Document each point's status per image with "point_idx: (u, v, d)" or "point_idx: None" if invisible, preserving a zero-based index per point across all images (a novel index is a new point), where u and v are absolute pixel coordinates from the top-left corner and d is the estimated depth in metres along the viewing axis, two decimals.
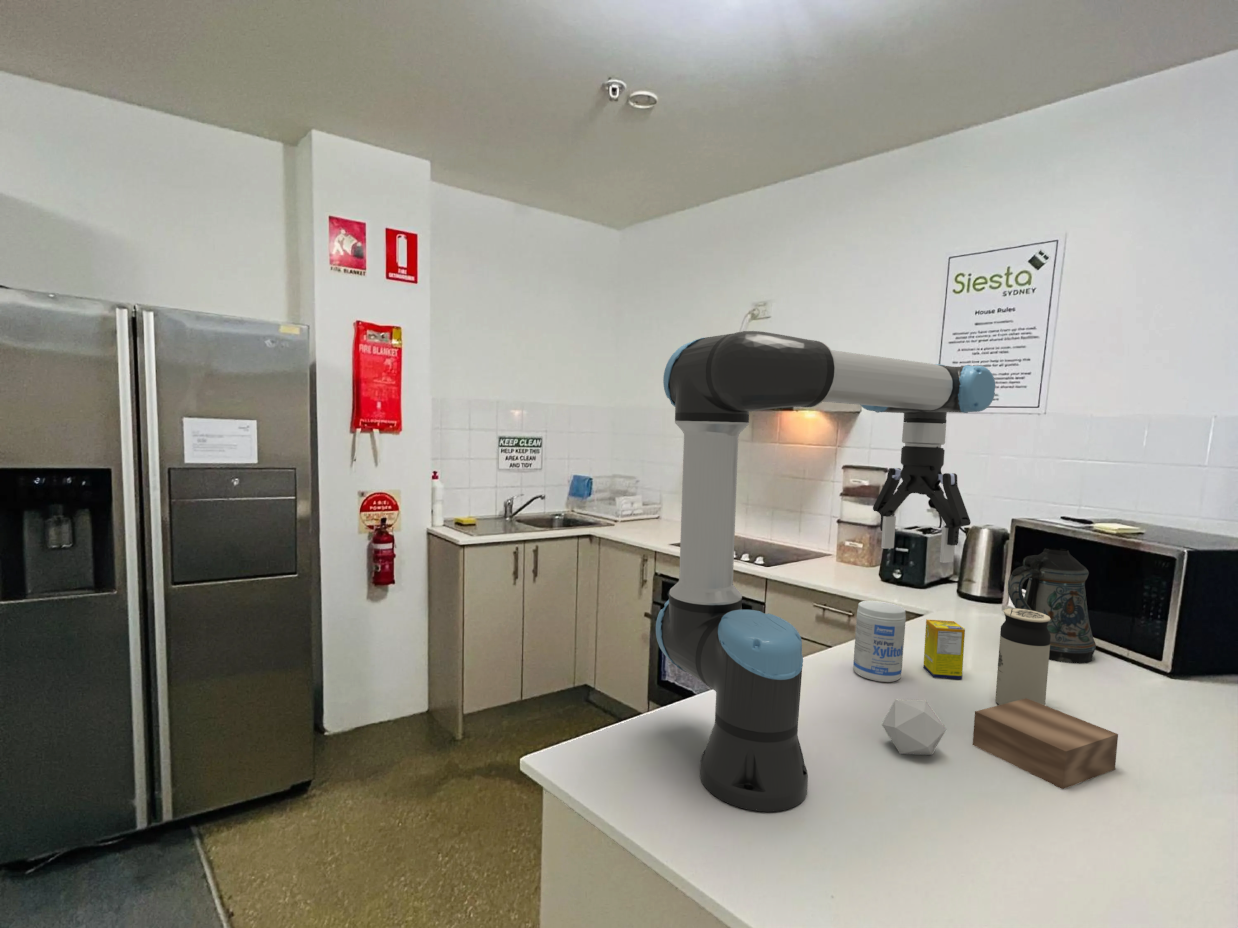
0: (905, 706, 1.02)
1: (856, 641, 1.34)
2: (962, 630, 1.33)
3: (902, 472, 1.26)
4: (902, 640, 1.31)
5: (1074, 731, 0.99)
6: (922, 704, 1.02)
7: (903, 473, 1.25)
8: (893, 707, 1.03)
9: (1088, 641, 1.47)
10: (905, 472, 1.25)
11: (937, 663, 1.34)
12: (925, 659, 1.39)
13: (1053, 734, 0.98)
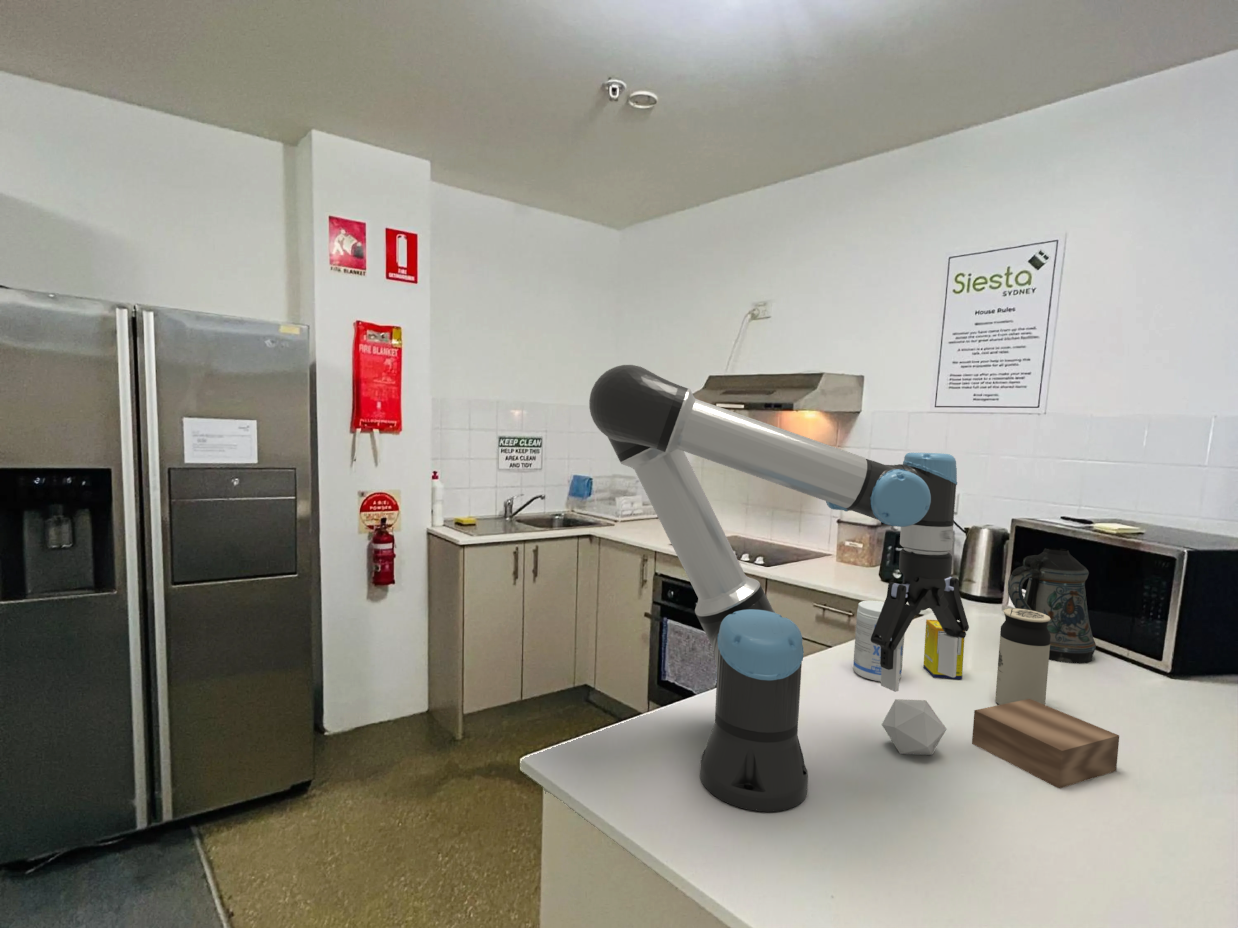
0: (905, 706, 1.02)
1: (856, 641, 1.34)
2: None
3: None
4: (902, 640, 1.31)
5: (1073, 732, 0.99)
6: (922, 704, 1.02)
7: None
8: (893, 707, 1.03)
9: (1088, 641, 1.47)
10: None
11: (937, 663, 1.34)
12: (925, 659, 1.39)
13: (1052, 734, 0.98)
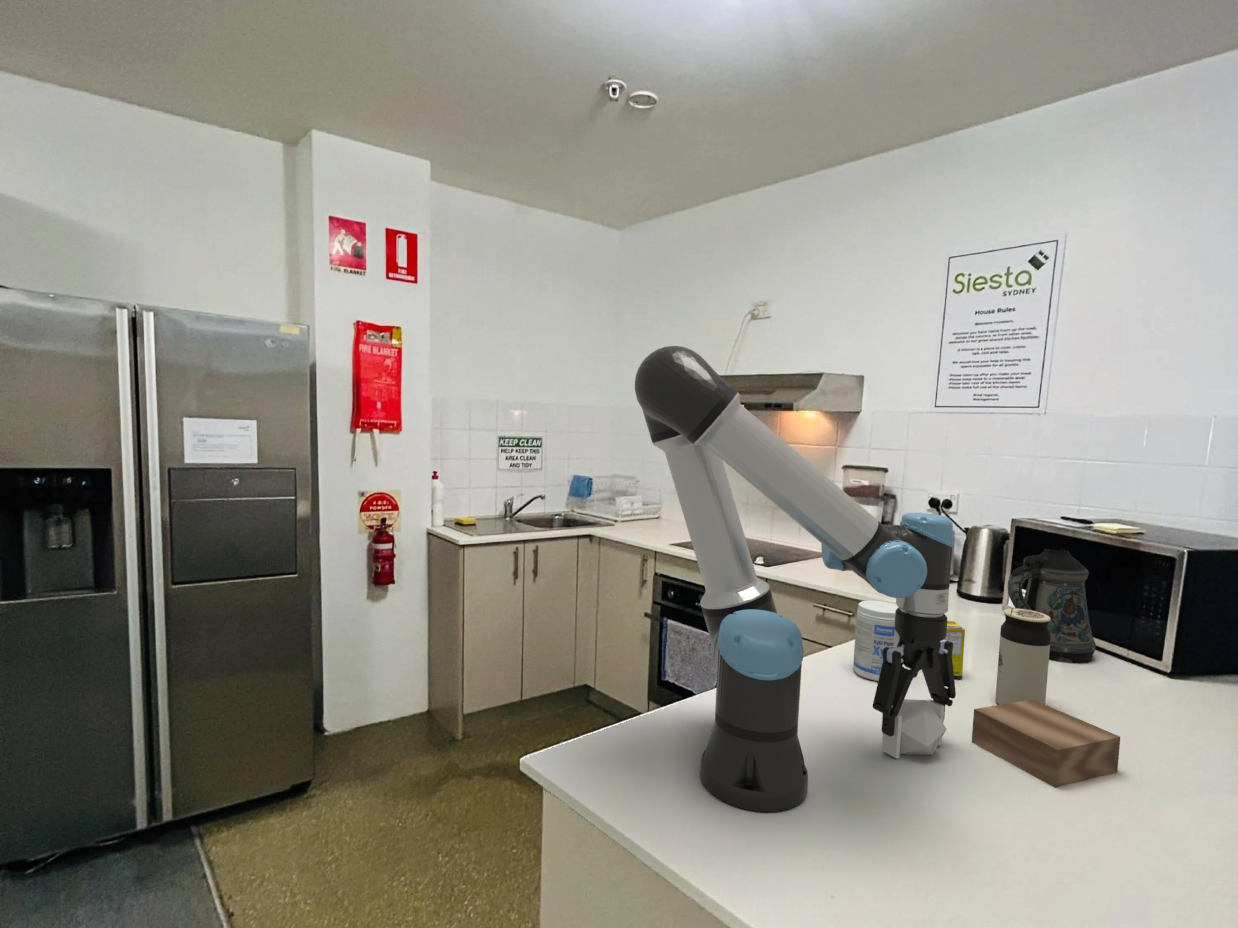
0: (905, 706, 1.02)
1: (856, 641, 1.34)
2: (962, 630, 1.33)
3: None
4: None
5: (1073, 732, 0.99)
6: (922, 704, 1.02)
7: None
8: None
9: (1088, 641, 1.47)
10: None
11: None
12: None
13: (1050, 733, 0.98)
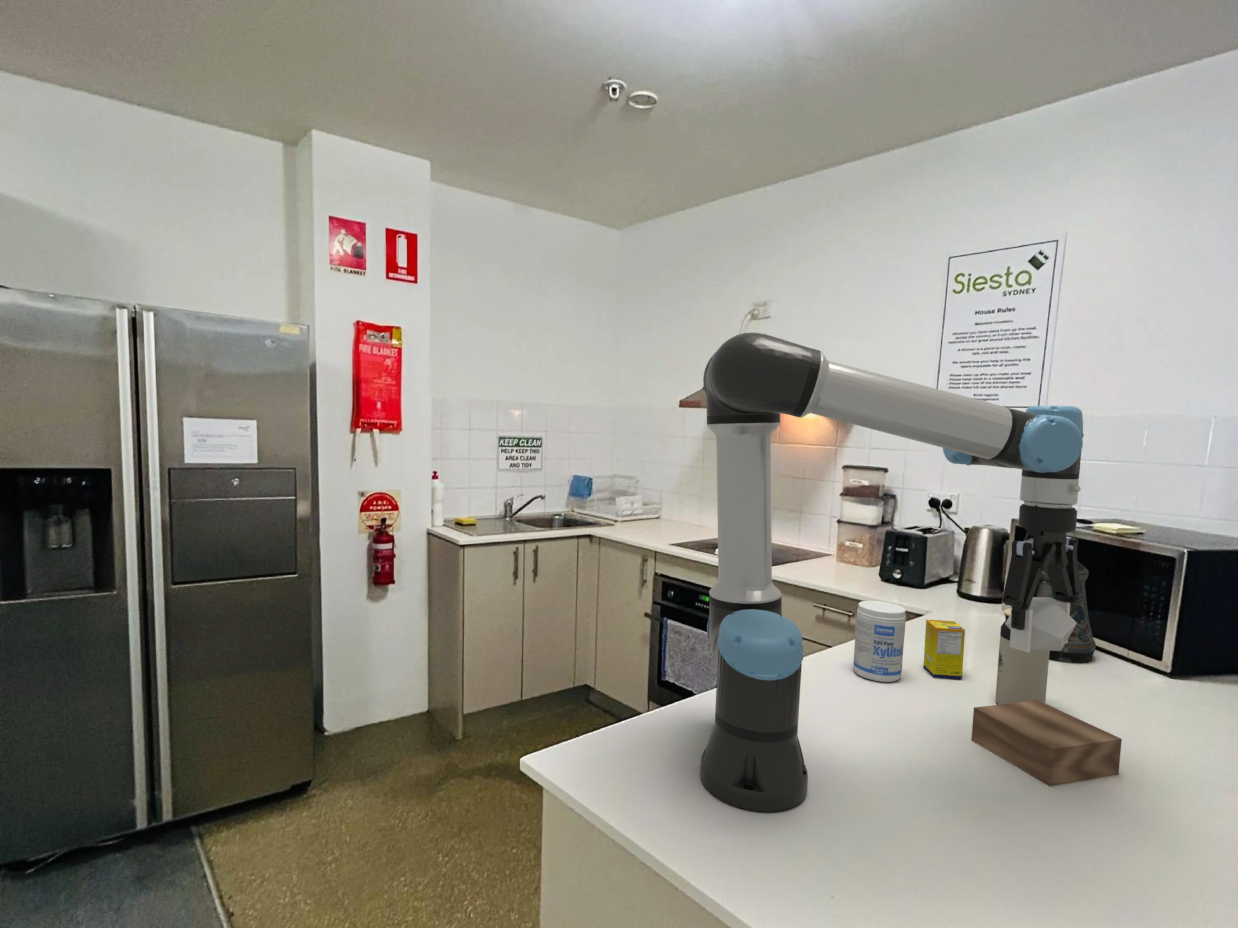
0: (1032, 602, 1.00)
1: (856, 641, 1.34)
2: (962, 630, 1.33)
3: None
4: (902, 640, 1.31)
5: (1072, 733, 0.99)
6: (1049, 600, 1.01)
7: None
8: None
9: (1088, 641, 1.47)
10: None
11: (937, 663, 1.34)
12: (925, 659, 1.39)
13: (1048, 733, 0.98)
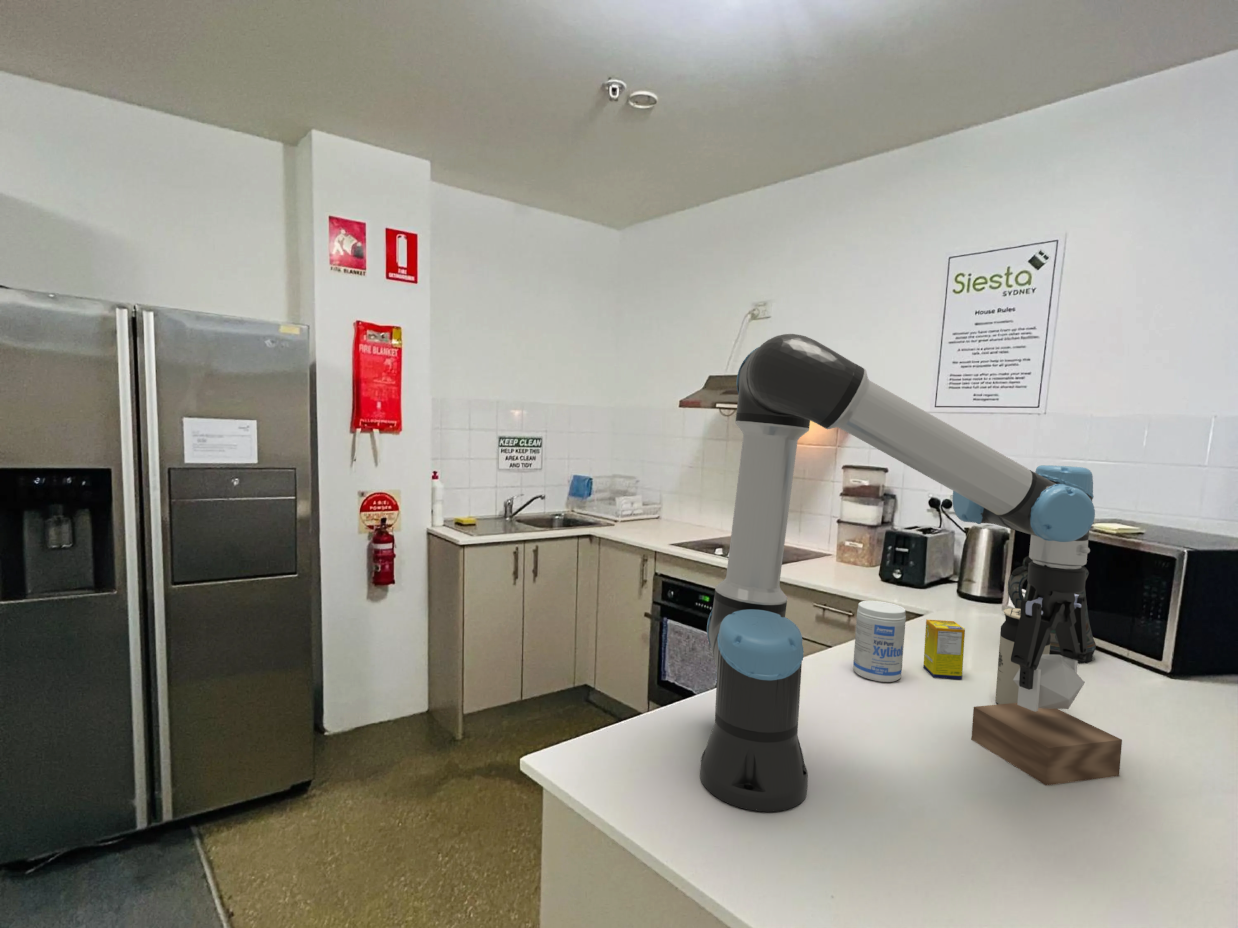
0: (1040, 660, 1.01)
1: (856, 641, 1.34)
2: (962, 630, 1.33)
3: None
4: (902, 640, 1.31)
5: (1071, 733, 0.99)
6: (1057, 658, 1.01)
7: None
8: None
9: (1088, 641, 1.47)
10: None
11: (937, 663, 1.34)
12: (925, 659, 1.39)
13: (1046, 733, 0.98)
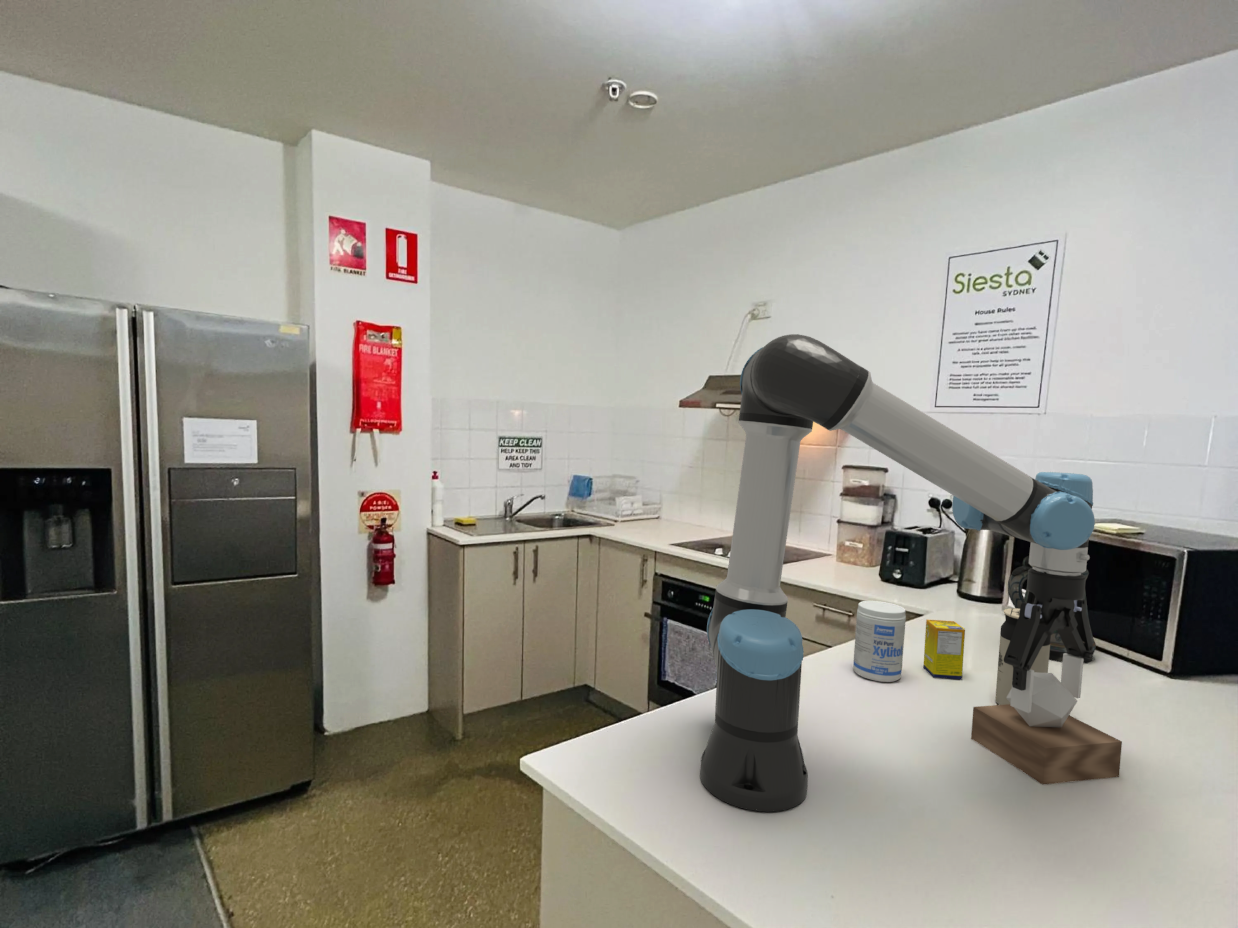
0: None
1: (856, 641, 1.34)
2: (962, 630, 1.33)
3: None
4: (902, 640, 1.31)
5: (1070, 734, 0.99)
6: (1050, 676, 1.01)
7: None
8: None
9: None
10: None
11: (937, 663, 1.34)
12: (925, 659, 1.39)
13: (1045, 733, 0.98)
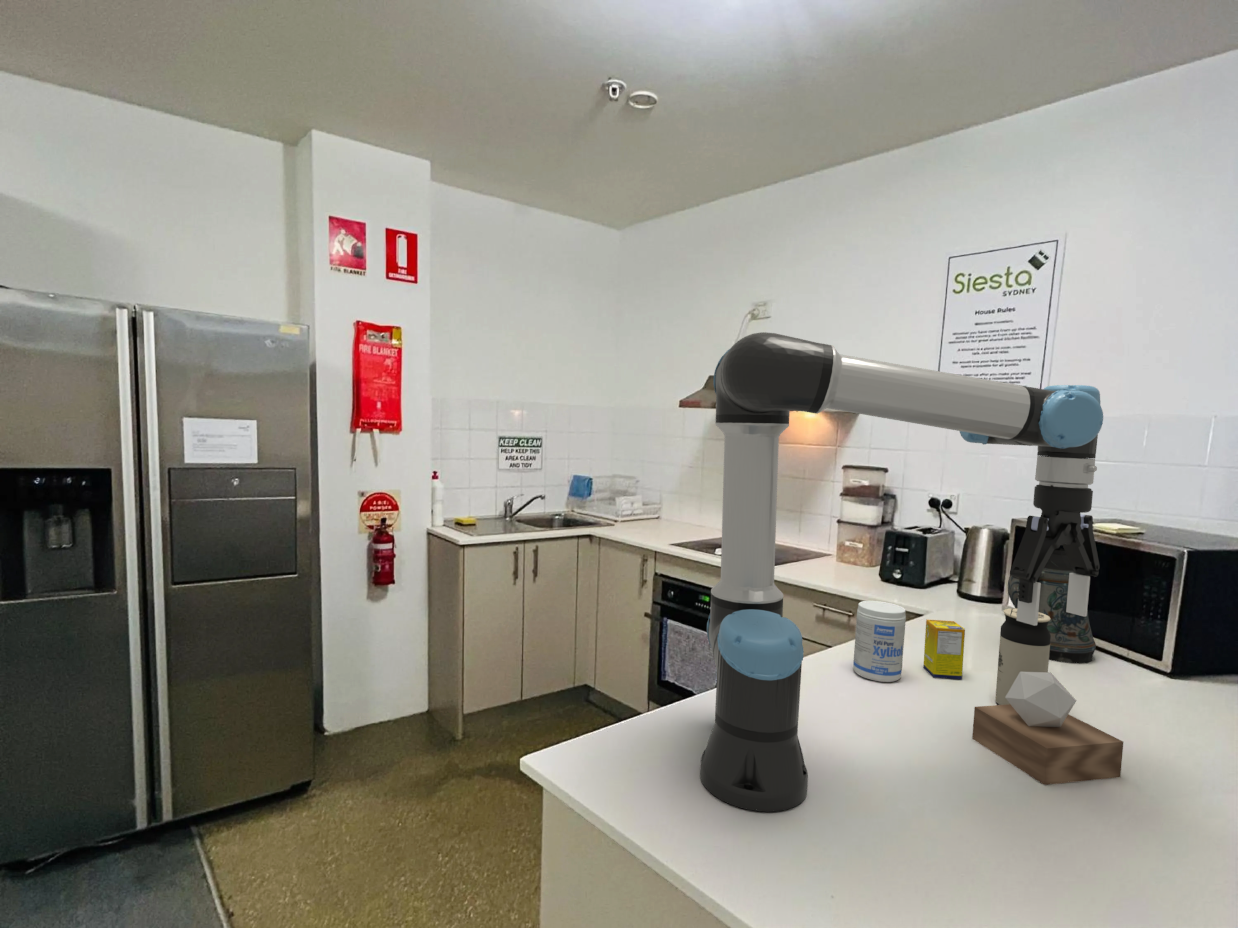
0: (1032, 678, 1.01)
1: (856, 641, 1.34)
2: (962, 630, 1.33)
3: None
4: (902, 640, 1.31)
5: (1072, 734, 0.98)
6: (1049, 676, 1.02)
7: None
8: (1018, 679, 1.03)
9: (1088, 641, 1.47)
10: None
11: (937, 663, 1.34)
12: (925, 659, 1.39)
13: (1046, 733, 0.98)
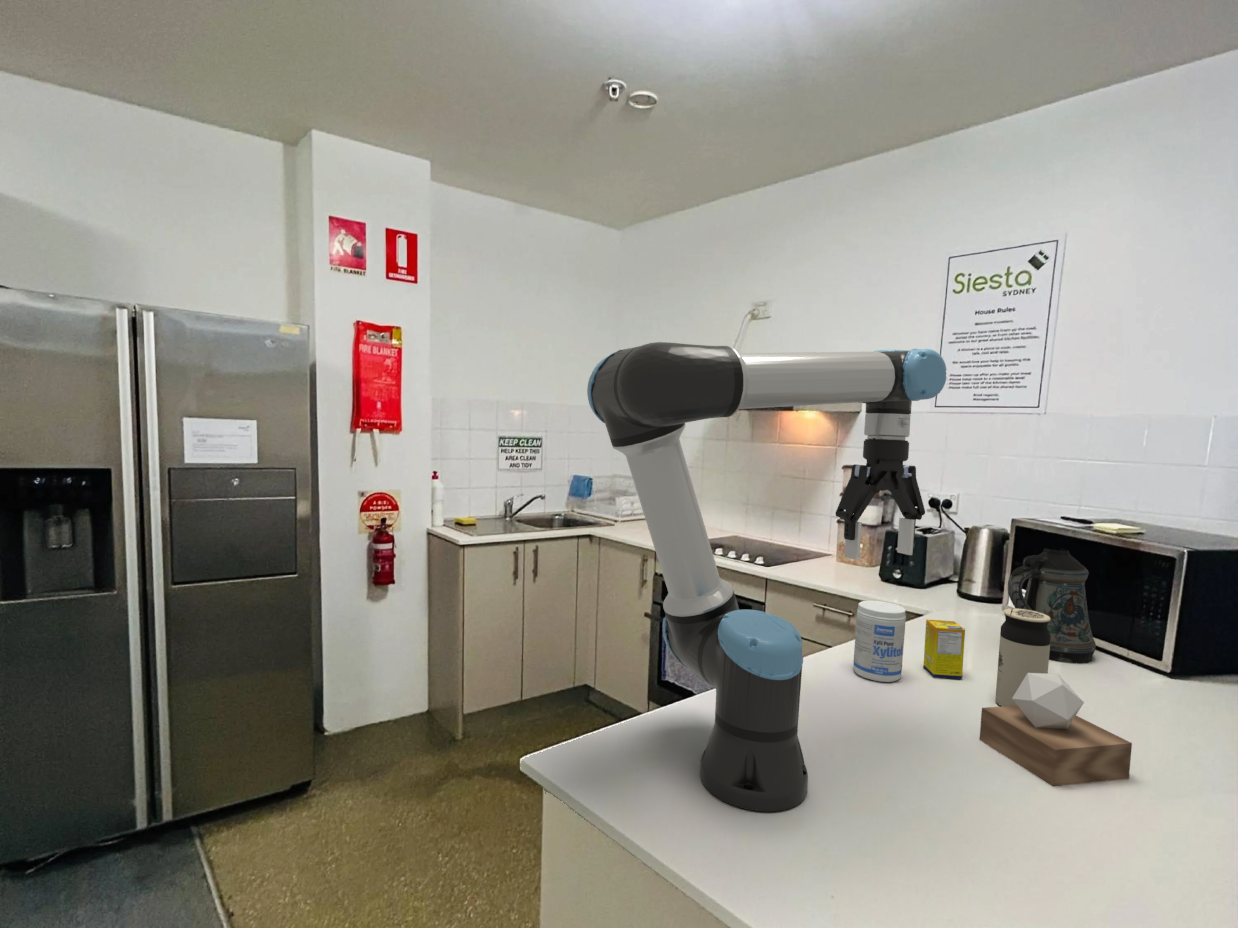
0: (1040, 680, 1.01)
1: (856, 641, 1.34)
2: (962, 630, 1.33)
3: None
4: (902, 640, 1.31)
5: (1080, 735, 0.98)
6: (1057, 677, 1.01)
7: None
8: (1026, 681, 1.02)
9: (1088, 641, 1.47)
10: None
11: (937, 663, 1.34)
12: (925, 659, 1.39)
13: (1054, 735, 0.98)
